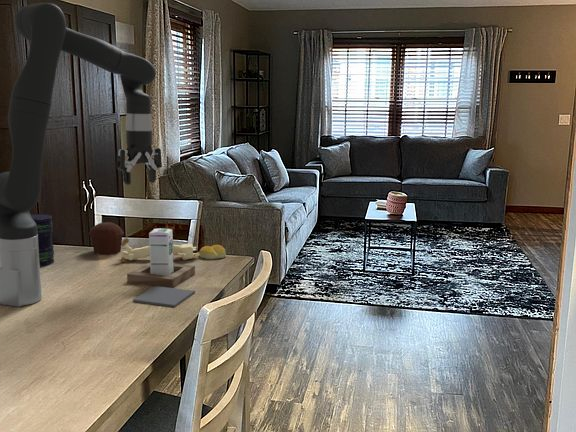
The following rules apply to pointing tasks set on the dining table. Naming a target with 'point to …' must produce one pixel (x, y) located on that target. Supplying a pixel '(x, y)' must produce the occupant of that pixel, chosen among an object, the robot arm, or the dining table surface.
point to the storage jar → (44, 238)
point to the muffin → (106, 238)
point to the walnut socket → (161, 276)
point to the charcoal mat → (164, 296)
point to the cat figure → (183, 251)
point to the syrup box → (161, 251)
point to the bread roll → (212, 252)
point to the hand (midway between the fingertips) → (140, 183)
